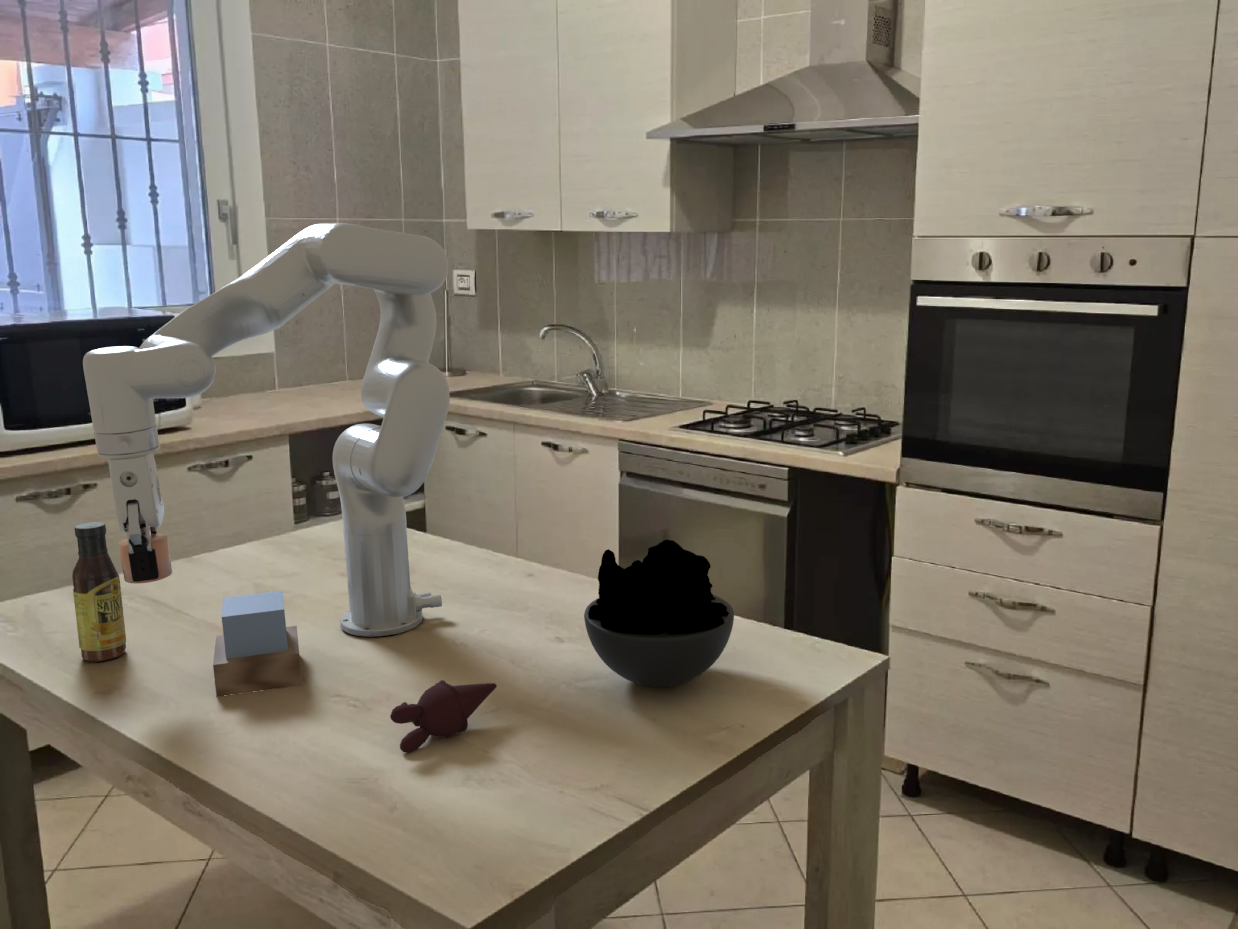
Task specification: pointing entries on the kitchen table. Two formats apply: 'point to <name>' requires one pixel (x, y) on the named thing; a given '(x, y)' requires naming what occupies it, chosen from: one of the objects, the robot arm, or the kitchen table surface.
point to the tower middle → (254, 624)
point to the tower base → (257, 668)
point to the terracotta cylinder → (161, 555)
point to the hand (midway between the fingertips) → (148, 570)
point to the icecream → (440, 712)
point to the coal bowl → (658, 617)
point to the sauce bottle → (97, 596)
